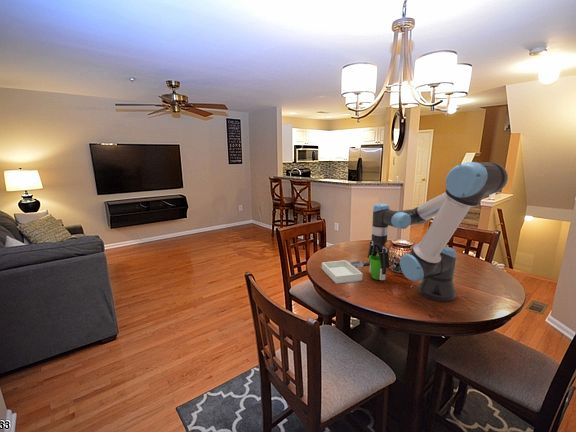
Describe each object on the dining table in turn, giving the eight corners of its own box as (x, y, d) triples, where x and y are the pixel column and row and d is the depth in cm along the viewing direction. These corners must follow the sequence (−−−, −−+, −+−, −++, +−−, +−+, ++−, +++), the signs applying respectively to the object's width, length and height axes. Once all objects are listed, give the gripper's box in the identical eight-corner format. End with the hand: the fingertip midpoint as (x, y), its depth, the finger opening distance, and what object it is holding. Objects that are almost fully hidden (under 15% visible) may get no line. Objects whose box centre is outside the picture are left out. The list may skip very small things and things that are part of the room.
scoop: (369, 263, 170) (369, 259, 170) (373, 266, 165) (373, 262, 165) (349, 265, 167) (350, 261, 167) (354, 268, 162) (354, 264, 162)
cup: (382, 282, 142) (383, 262, 140) (365, 278, 148) (366, 258, 145) (388, 276, 149) (389, 257, 147) (371, 272, 155) (372, 253, 152)
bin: (362, 280, 146) (362, 273, 145) (335, 284, 142) (336, 276, 142) (345, 266, 165) (345, 260, 164) (321, 269, 161) (321, 262, 160)
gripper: (399, 239, 134) (396, 283, 139) (374, 228, 155) (372, 267, 159) (385, 240, 132) (382, 285, 137) (362, 229, 153) (360, 268, 158)
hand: (377, 275), depth 148 cm, fingers closed on cup, 9 cm apart
